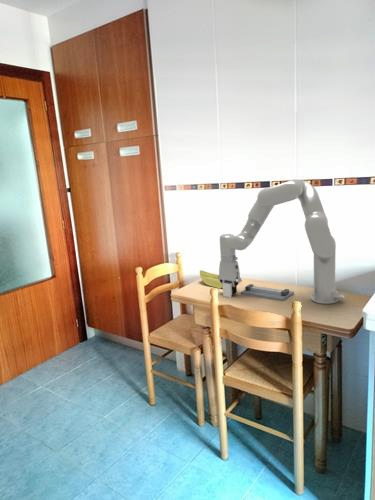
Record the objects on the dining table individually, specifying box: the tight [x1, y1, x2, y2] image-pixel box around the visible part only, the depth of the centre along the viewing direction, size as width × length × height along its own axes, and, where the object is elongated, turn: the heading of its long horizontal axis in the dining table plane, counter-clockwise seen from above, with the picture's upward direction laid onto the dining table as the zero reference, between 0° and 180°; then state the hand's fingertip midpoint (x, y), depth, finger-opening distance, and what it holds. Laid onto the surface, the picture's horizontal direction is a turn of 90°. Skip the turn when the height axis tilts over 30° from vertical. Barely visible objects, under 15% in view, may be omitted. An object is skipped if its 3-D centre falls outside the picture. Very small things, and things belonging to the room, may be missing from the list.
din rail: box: [244, 283, 290, 296], centre depth 198 cm, size 22×5×2 cm, turn 52°
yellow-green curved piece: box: [199, 269, 223, 289], centre depth 223 cm, size 20×7×10 cm
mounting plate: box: [239, 286, 295, 302], centre depth 198 cm, size 24×12×1 cm, turn 52°
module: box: [222, 281, 238, 298], centre depth 200 cm, size 4×6×8 cm
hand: (230, 292), depth 201 cm, fingers closed on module, 4 cm apart
